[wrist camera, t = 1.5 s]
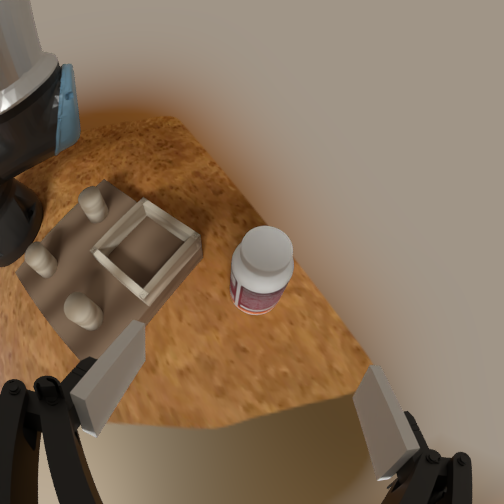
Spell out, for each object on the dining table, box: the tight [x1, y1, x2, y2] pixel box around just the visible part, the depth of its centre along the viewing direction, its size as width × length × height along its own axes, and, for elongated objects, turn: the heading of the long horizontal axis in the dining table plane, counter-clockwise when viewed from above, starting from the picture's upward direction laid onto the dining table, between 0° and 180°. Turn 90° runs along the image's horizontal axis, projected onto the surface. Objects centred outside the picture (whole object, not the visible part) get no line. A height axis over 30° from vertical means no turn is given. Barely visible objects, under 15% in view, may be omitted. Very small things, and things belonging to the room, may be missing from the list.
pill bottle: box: [230, 226, 294, 315], centre depth 29 cm, size 6×6×11 cm
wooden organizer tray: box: [15, 179, 203, 361], centre depth 30 cm, size 20×20×7 cm
